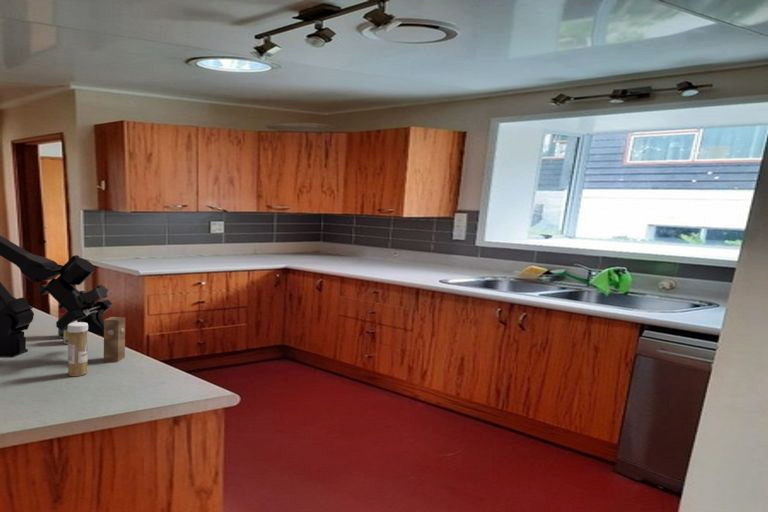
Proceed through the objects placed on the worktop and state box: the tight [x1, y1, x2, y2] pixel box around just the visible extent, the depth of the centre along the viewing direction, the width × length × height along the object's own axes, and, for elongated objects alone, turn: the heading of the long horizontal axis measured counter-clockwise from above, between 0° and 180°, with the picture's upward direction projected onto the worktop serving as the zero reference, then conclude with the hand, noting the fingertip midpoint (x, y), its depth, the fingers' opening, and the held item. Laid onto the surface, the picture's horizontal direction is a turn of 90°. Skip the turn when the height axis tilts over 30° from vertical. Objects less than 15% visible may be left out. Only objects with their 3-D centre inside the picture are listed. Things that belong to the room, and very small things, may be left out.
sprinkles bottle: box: [67, 322, 89, 377], centre depth 130 cm, size 5×5×13 cm
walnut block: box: [103, 316, 126, 363], centre depth 143 cm, size 4×4×12 cm
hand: (106, 335), depth 143 cm, fingers closed, pressing on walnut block
